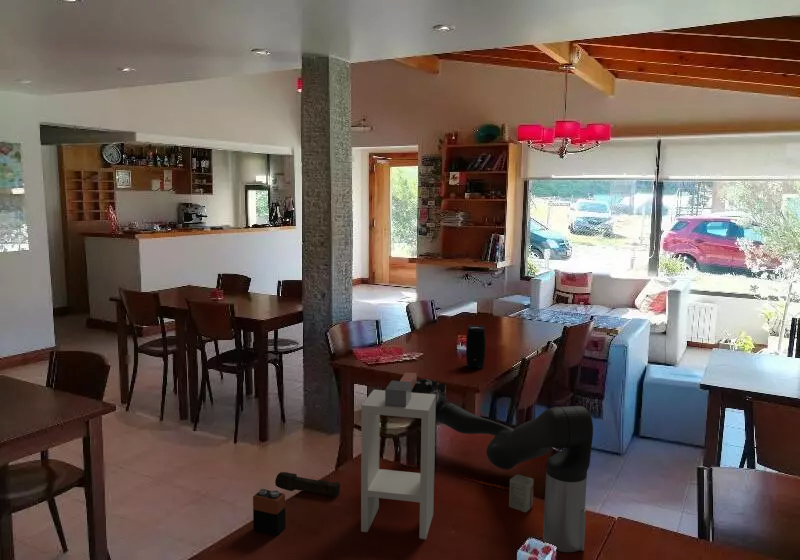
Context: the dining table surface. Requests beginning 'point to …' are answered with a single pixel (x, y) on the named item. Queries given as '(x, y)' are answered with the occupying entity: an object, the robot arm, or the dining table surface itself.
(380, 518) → the dining table surface
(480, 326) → the portable speaker
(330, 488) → the dark green flashlight
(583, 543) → the robot arm
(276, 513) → the battery
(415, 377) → the hammer
